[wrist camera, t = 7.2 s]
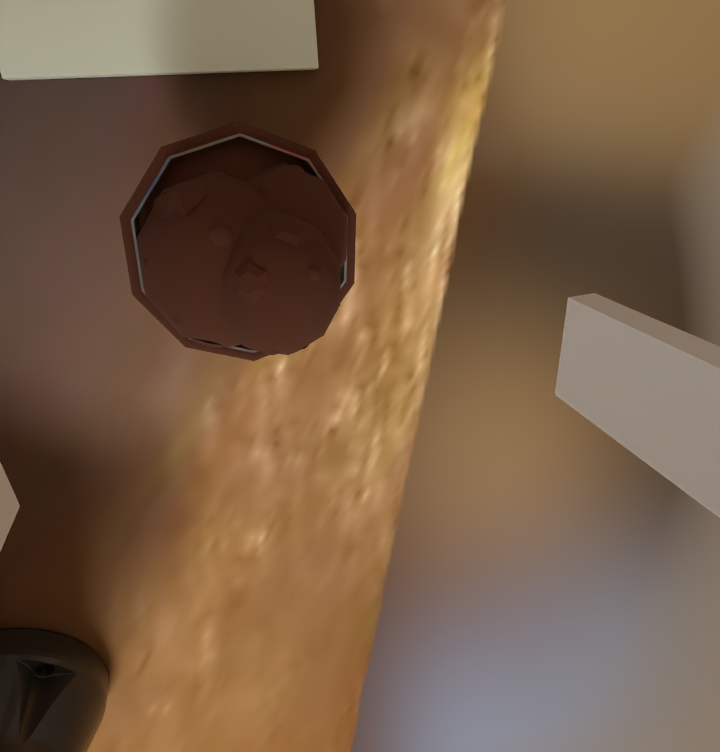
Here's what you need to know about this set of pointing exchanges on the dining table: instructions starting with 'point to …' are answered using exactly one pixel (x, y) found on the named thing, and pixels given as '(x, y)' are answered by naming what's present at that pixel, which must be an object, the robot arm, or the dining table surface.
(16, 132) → the dining table surface
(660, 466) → the robot arm
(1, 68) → the board
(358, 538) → the dining table surface
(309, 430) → the dining table surface
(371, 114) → the dining table surface
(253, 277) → the ice cream bowl
